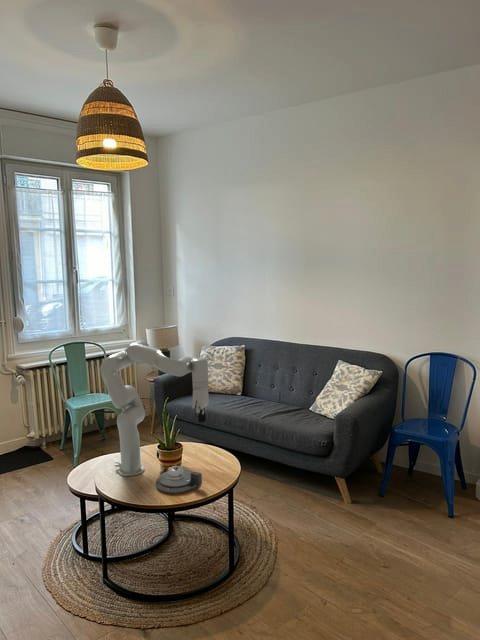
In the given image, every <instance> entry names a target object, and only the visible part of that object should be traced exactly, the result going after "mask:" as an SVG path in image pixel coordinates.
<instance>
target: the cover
mask: <svg viewBox="0 0 480 640" xmlns="http://www.w3.org/2000/svg"><path fill="white" fill-rule="evenodd" d="M183 469H184V467H183V466H181V465H175V466H172V467H169V468H168V470H167V471H168V479H169V480H172V481H177V480H181V479H183V478H184V473H183Z"/></svg>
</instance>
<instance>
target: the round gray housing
mask: <svg viewBox="0 0 480 640" xmlns="http://www.w3.org/2000/svg"><path fill="white" fill-rule="evenodd" d="M183 473H184V478H183V479H181V480H177V481H172V480H169V479H168V470H165V472H163V473H161V474H160V475H159V476H158V478H159V483H160V484H161V485H162V486H165V487H169V488H179V487H184V486H188V485H190V484H193V485H197V486H198V487H199V486H201V485H202V484H203V477H202V473H201V472H197V471H193V470H191V469H186V468H183Z"/></svg>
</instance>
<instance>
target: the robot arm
mask: <svg viewBox="0 0 480 640" xmlns="http://www.w3.org/2000/svg"><path fill="white" fill-rule="evenodd" d="M137 362H138V363H142V364H145V365H149V366H152V367H155V368H156V369H157V370H159V371H160V372H162V373H165V374H168V375H172V376H175V377H183V376H185V375H187V374H189V373H191V377H192V378H191V379H192V409H193V410H195V409H196V410H195V412H196V414H197V416H198V417H197V418H198V421H197V422H198V423H205V422H206V421H207V417H206V415H207V414H206V413H207V411H206V409H207V407H208V405H209V402H210V400H209V399H210V397H209V396H210V395H209V384H210V383H209V364H208V363H209V362H208V359H207V358H205V357H190V356H184V357H182V358H180V359H174V358H170V357H168V356H166V355H164V353H163V351H162V350H161V349H159V348H155V347H152V346H150V345H149V343H147V342H146V341H144V340H137V341H134V342H132V343H130V344H129V345H128V346H127V347H126V348H125V349H122V350H121V351H118V352H115V353H113V354H110V355H109V356H107V357H106V358H105V359H104V360H103V361H102V362H101V364H100V377H101V378H102V380H103V382H104V385H105V387H106V390H107V393H108V395H109V398H110V400H111V403H112V405H113V407H114V408H116V409H123V411H121V412H120V413H119V414H118V416H117V418H116V425H117V429H118V430H117V431H118V435H119V449H120V450H119V451H120V461H119V460H116V461H115V463H114V467H115V468H119V469H118V470H117V471H118V474H119V475H120V476H122V477H133V476H137V475H139V474H142V473H143V472H144V471H145V466H144V465H142V464H141V463H142V462H141V446H140V433H139V431H138V427H137V426H138V425H139V424H140V423H141V422H142V421H144V419H145V417H146V411H145V407H144V405H143V402H142V399H141V398H140V394H139V392H138V390H137V388H135V387H134V386H132V385H130V384H125V382H124V379H123V378H122V376H121V375H120V374H119V371H121V370H124V369H126V368H128V367H130V366H131V365H134V363H137Z"/></svg>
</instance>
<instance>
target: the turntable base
mask: <svg viewBox="0 0 480 640" xmlns="http://www.w3.org/2000/svg"><path fill="white" fill-rule="evenodd" d="M198 487H199V486H197V485H193V484H190V485H188V486H184V487H179V488H169V487H165V486H162V485H161V484H160V483H159V477H158V478H157V479H156V480H155V488H156V490H157V491H159V492H160V493H163V494H166V495H181V494H186V493H188V492H192V491H193V490H195V489H197V488H198Z"/></svg>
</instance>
